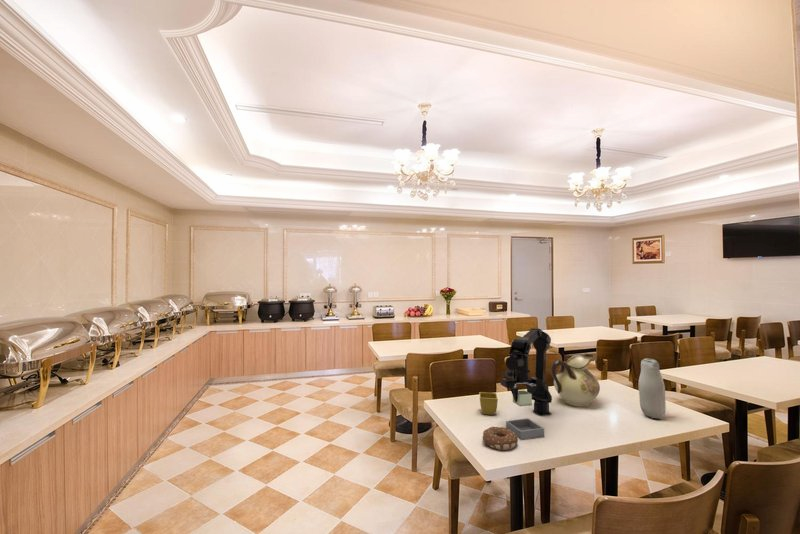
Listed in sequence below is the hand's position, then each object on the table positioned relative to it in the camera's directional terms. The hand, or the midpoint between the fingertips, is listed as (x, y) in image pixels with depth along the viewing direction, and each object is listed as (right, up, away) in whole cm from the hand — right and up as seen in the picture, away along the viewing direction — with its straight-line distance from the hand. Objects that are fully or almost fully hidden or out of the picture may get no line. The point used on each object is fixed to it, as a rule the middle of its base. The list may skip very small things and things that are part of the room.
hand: (522, 401), depth 156 cm
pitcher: (+41, -13, +30) cm, 52 cm away
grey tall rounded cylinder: (+67, -12, +9) cm, 69 cm away
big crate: (-1, -11, -6) cm, 13 cm away
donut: (-15, -11, -16) cm, 25 cm away
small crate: (0, -1, 0) cm, 1 cm away
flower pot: (-11, -13, +17) cm, 24 cm away
